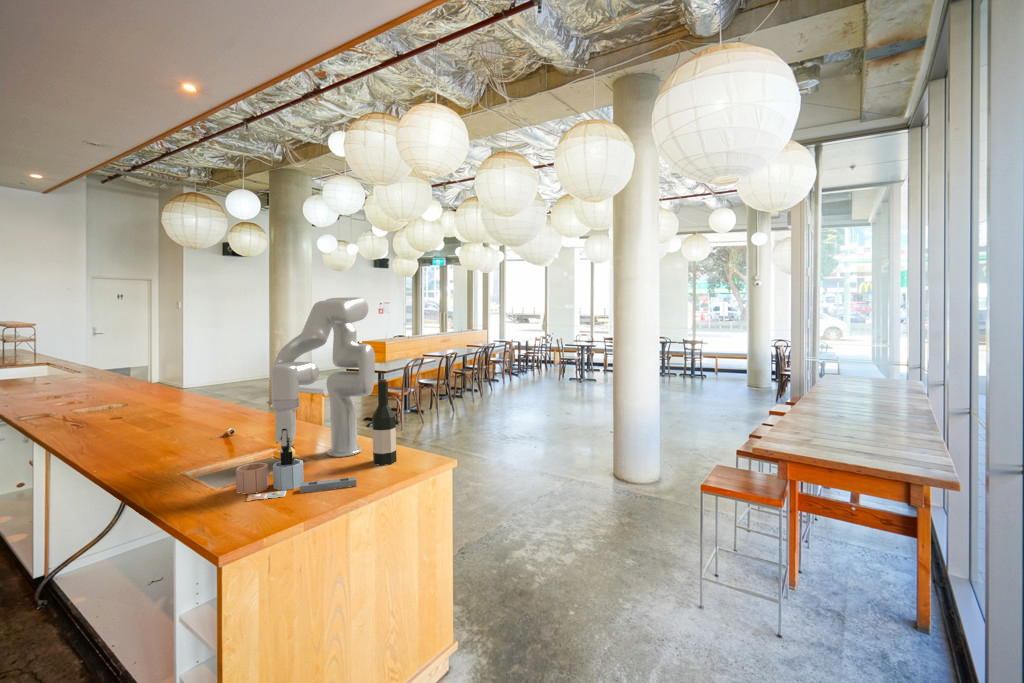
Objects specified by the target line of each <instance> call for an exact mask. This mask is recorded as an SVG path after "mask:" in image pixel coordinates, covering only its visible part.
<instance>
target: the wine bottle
mask: <svg viewBox="0 0 1024 683" xmlns="http://www.w3.org/2000/svg"><path fill="white" fill-rule="evenodd" d="M388 385H389V382H388V381H387V379H386V378H381V379H379V381H378V383H377V388H378V393H377V394H378V405H377V407H376V409H375V410H374V413H373V414H372V418H371V423H372V426H371V427H372V457H373V458H372V462H373V464H374V465H375V464H379V465H378V466H386V465H385V464H389V465H392V463H393V464H395V463H396V461H397V429H396V427H397V426H396V421H397V420H396V414H394V412H393V410H392V408H391V407H390V405H389V386H388ZM394 462H395V463H394Z"/></svg>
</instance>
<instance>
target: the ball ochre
mask: <svg viewBox="0 0 1024 683" xmlns="http://www.w3.org/2000/svg"><path fill="white" fill-rule="evenodd" d="M291 451H292V459H293V458H294V457H295V456H296V450H295V447H294V448H292V447H291ZM279 458H280V459H281V450H280V451H279ZM294 459H295V458H294Z"/></svg>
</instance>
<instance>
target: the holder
mask: <svg viewBox="0 0 1024 683" xmlns="http://www.w3.org/2000/svg"><path fill="white" fill-rule="evenodd" d="M349 486H355V487H357V477H356V476H352V477H344V478H335V479H325V480H318V481H317V480H316V481H309V482H304V483H301V484H300V487H299V493H300V494H303V493H304V492H305V493H312V491H314V492H321V491H320V490H322V491H328V490H327V489H330V490H335V489H334V488H338V489H341V488H340V487H346V488H350V487H349Z"/></svg>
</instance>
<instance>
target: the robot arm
mask: <svg viewBox="0 0 1024 683" xmlns="http://www.w3.org/2000/svg"><path fill="white" fill-rule="evenodd" d="M368 314H369V304H368V302H367V300H366V299H364V298H363V297H359V296H358V297H330V298H326V299H324V300H319V301H317V302H315V303H314V304H313V306H312V307H311V310H310V312H309V314H308V317H307V319H306V321H305V324H304V326H303V328H302V331H301V333H300V334H298V335H297V336H295V337H294V338H292V339H291V340H290V341H289V342H287V343H286V344H285V345H284V346H283V347H282V348H281V349H280V351H278V354H277V356H276V358H275V359H274V362H273V365H272V368H271V371H270V374H271V375H270V376H271V377H270V378H271V380H270V381H271V402H272V403H271V404H272V411H274V412H275V417H274V418H275V421H274V427H275V428H274V429H275V430H274V433H275V434H274V439H275V440H274V443H276V444H278V443H280V451H281V458H280V461H281V465H291V464H292V463H293V460H294V459H295V458H296V457H295V456H294V458H293V459H292V451H291V447H292V448H294V449H295V446H294V444H295V442H294V441H295V440H294V439H295V438H296V435H297V434H296V433H297V430H296V429H297V420H296V418H297V417H296V415H297V414H296V413H297V412H296V410H298V409H300V396H299V395H300V390H299V388H300V386H307V385H308V386H309V385H311V384H314V383H315V382H316V381H317V380H318V379H319V377H320V368H319V367H318V365H317V364H315V363H313V362H311V361H296V360H297V359H299V357H301V356H303V355H304V354H306V353H309V352H311V351H315V350H317V349H318V348H320V347H322V346H323V347H324V346H325V344H326V343H327V342H328V341H327V340H328V338H329V336H330V334H331V331H332V332H333V340H332V341H333V342H332V363H333V365H334V366H335V367H337V368H342V369H358V371H353V370H352V371H348V370H346V371H343V370H342V371H334V372H332V373H331V374H329V375H328V376H327V379H326V384H325V385H326V390H327V394H328V399H329V409H330V410H329V412H330V436H331V437H330V440H331V441H330V442H331V445H330V448H329V449H327V450H326V453H327V455H328V456H330V457H335V458H340V457H342V458H343V457H350V456H355V455H357V453H358V454H360V453H361V452H362V446H360V445H358V427H357V426H358V420H357V405H356V403H355V401H354V399H353V397H369V396H370V395H371V394H372V393H373V390H374V388H375V387H374V384H375V370H376V368H375V367H376V353H375V350H374V348H373V347H372V345H370V344H369V343H357V329H356V327H355V326H354V324H353V323H356V322H359V321H362V320H364V319H365V318H366V317H367V316H368ZM359 452H360V453H359ZM354 454H355V455H354Z"/></svg>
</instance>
